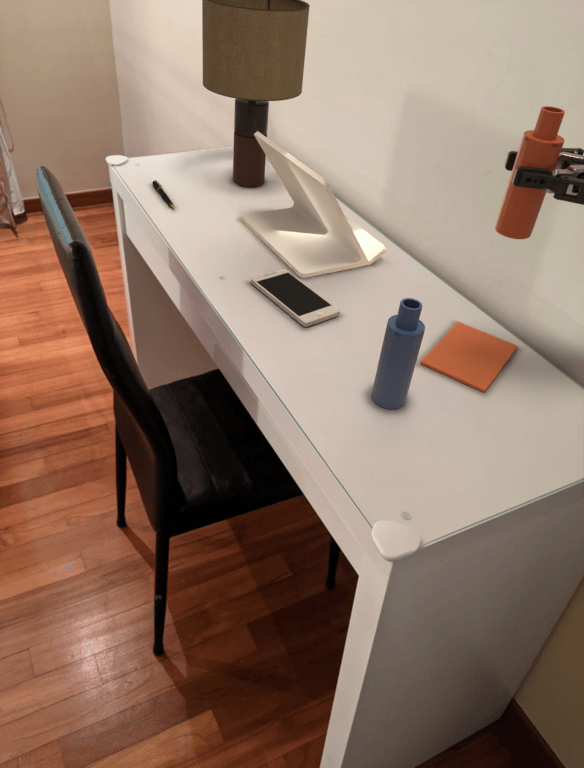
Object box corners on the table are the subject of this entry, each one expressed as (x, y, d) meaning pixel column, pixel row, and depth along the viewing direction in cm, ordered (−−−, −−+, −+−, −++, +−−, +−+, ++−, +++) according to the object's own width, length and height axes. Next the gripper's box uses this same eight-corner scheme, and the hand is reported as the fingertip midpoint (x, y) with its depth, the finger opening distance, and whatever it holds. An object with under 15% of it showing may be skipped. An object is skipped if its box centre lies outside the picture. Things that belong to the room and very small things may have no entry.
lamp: (195, 166, 141) (193, -12, 119) (278, 164, 147) (291, -7, 125) (213, 202, 127) (214, 7, 105) (304, 198, 133) (324, 12, 110)
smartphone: (304, 327, 94) (305, 322, 93) (249, 282, 103) (249, 277, 102) (340, 315, 97) (341, 310, 97) (283, 272, 106) (284, 267, 106)
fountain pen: (177, 211, 122) (177, 204, 121) (171, 211, 122) (171, 204, 121) (155, 183, 132) (155, 177, 131) (150, 184, 131) (150, 177, 130)
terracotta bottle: (537, 238, 78) (582, 115, 69) (506, 240, 77) (547, 115, 67) (518, 222, 81) (558, 103, 72) (488, 224, 80) (524, 103, 71)
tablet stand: (301, 278, 105) (312, 182, 95) (239, 219, 122) (242, 131, 111) (386, 261, 113) (404, 170, 102) (317, 207, 129) (326, 124, 119)
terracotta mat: (516, 348, 95) (517, 345, 94) (484, 393, 85) (485, 390, 85) (457, 324, 99) (458, 321, 98) (420, 363, 89) (420, 361, 89)
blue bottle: (410, 396, 83) (436, 303, 74) (395, 414, 80) (420, 318, 71) (381, 382, 85) (403, 289, 76) (365, 399, 82) (385, 304, 73)
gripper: (643, 133, 77) (508, 118, 77) (691, 174, 66) (533, 157, 66) (618, 190, 82) (491, 176, 82) (659, 238, 71) (512, 221, 71)
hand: (511, 168), depth 74 cm, fingers closed on terracotta bottle, 4 cm apart
